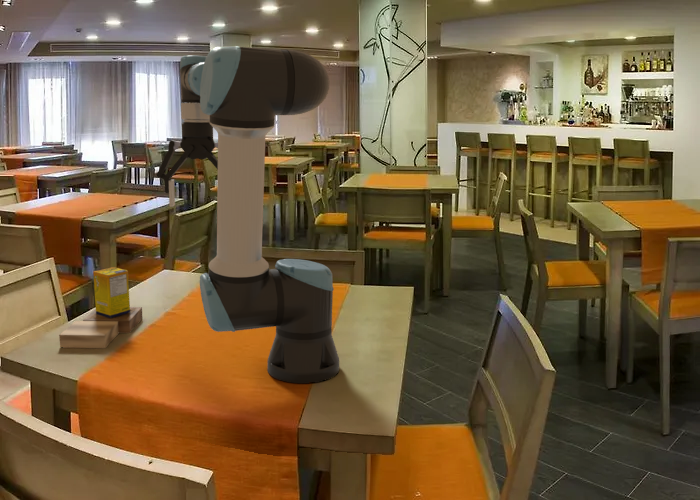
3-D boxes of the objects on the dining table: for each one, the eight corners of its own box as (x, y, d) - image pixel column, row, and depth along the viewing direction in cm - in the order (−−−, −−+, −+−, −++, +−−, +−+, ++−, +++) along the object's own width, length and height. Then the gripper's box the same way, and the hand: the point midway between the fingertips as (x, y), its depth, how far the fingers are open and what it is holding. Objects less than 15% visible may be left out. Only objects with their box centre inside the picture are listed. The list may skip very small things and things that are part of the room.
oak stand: (105, 348, 151) (104, 335, 151) (60, 347, 151) (59, 334, 150) (118, 333, 161) (118, 321, 160) (76, 332, 161) (75, 320, 160)
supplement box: (115, 308, 170) (113, 266, 168) (130, 313, 167) (128, 270, 164) (94, 314, 165) (92, 270, 163) (110, 318, 162) (107, 274, 160)
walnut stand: (129, 332, 161) (129, 320, 161) (83, 332, 161) (82, 320, 160) (142, 318, 172) (141, 307, 172) (99, 317, 172) (98, 306, 171)
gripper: (249, 121, 170) (250, 205, 174) (150, 119, 169) (153, 203, 173) (246, 122, 162) (247, 209, 167) (142, 120, 161) (145, 207, 166)
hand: (199, 206), depth 170 cm, fingers open, 13 cm apart
